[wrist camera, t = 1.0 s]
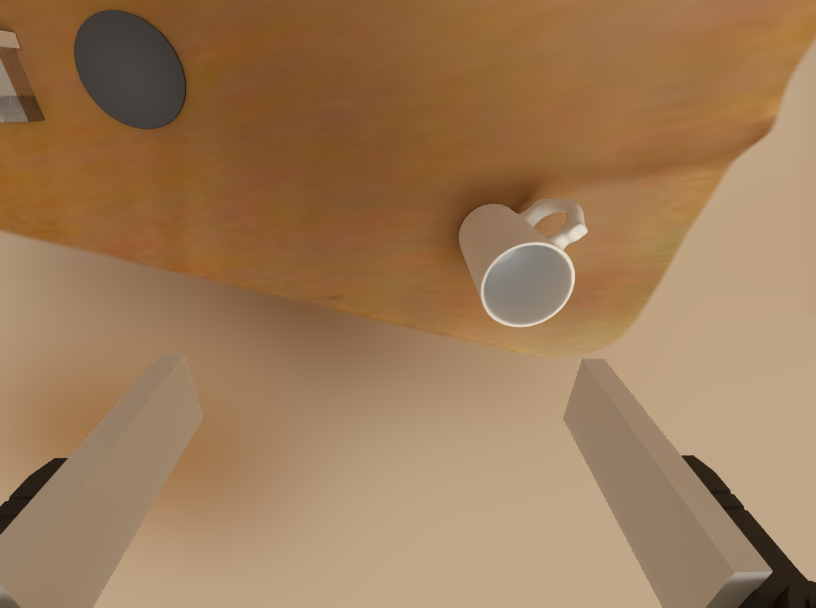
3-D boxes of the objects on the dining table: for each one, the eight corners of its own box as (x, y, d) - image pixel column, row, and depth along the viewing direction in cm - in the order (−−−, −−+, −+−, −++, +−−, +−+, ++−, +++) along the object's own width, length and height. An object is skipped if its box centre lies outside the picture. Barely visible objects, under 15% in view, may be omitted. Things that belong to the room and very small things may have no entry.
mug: (485, 278, 40) (518, 342, 30) (441, 235, 38) (461, 289, 27) (564, 209, 37) (633, 254, 27) (522, 158, 35) (579, 184, 24)
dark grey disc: (62, 5, 28) (58, 4, 28) (174, 16, 29) (172, 16, 29) (95, 124, 32) (92, 124, 32) (194, 132, 33) (192, 132, 32)
